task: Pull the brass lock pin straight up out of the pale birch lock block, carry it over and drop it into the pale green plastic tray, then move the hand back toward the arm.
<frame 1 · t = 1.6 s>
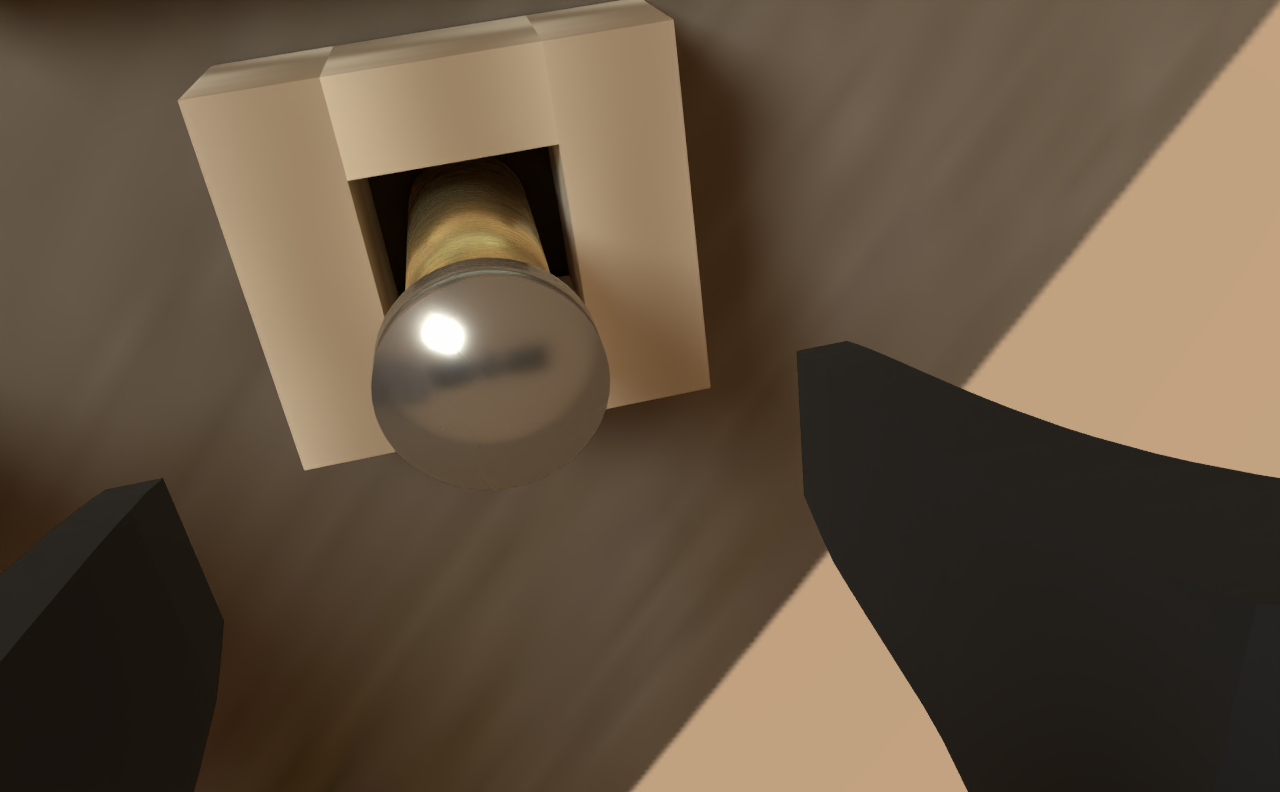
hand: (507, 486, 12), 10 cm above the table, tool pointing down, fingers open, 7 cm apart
lock block: (468, 209, 21), on the table
lock pin: (468, 209, 21), resting in lock block
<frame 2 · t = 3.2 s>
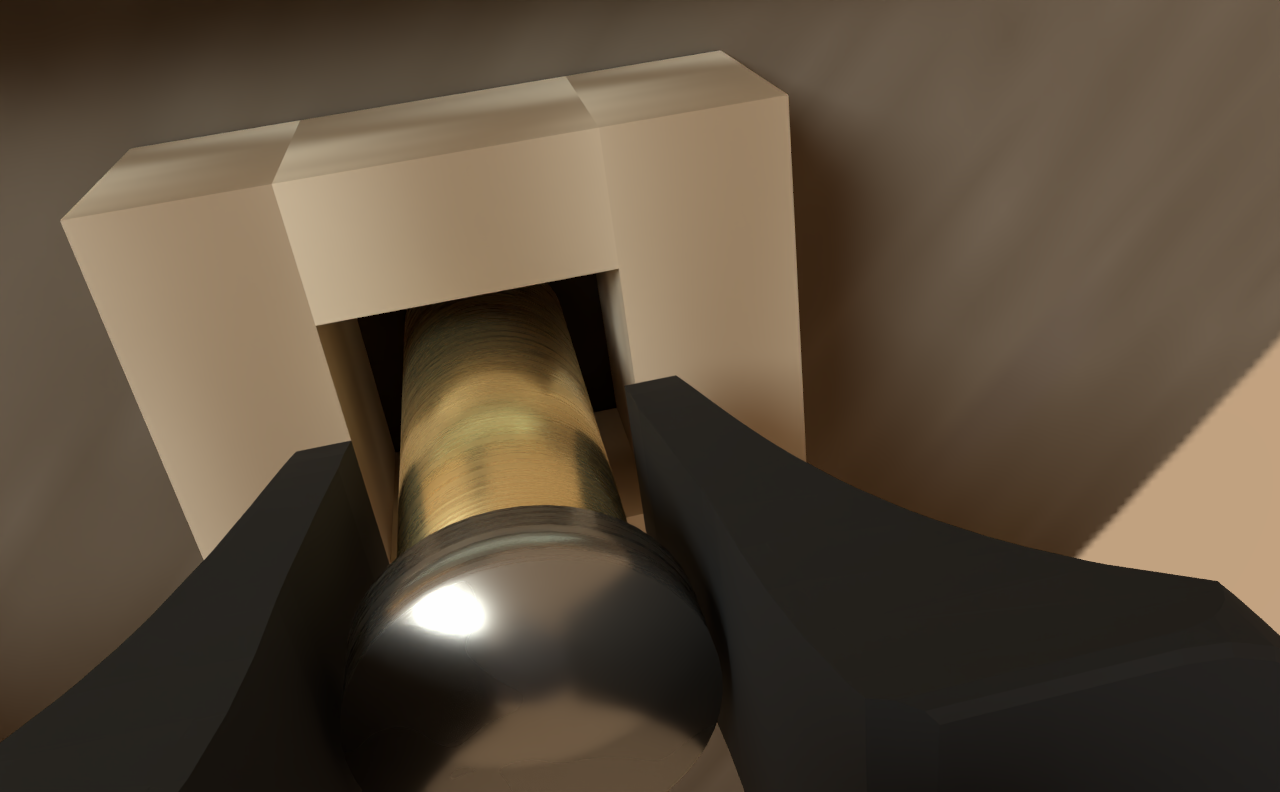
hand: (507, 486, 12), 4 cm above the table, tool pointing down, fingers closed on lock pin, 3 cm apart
lock block: (485, 329, 15), on the table
lock pin: (485, 329, 15), resting in lock block, touching gripper
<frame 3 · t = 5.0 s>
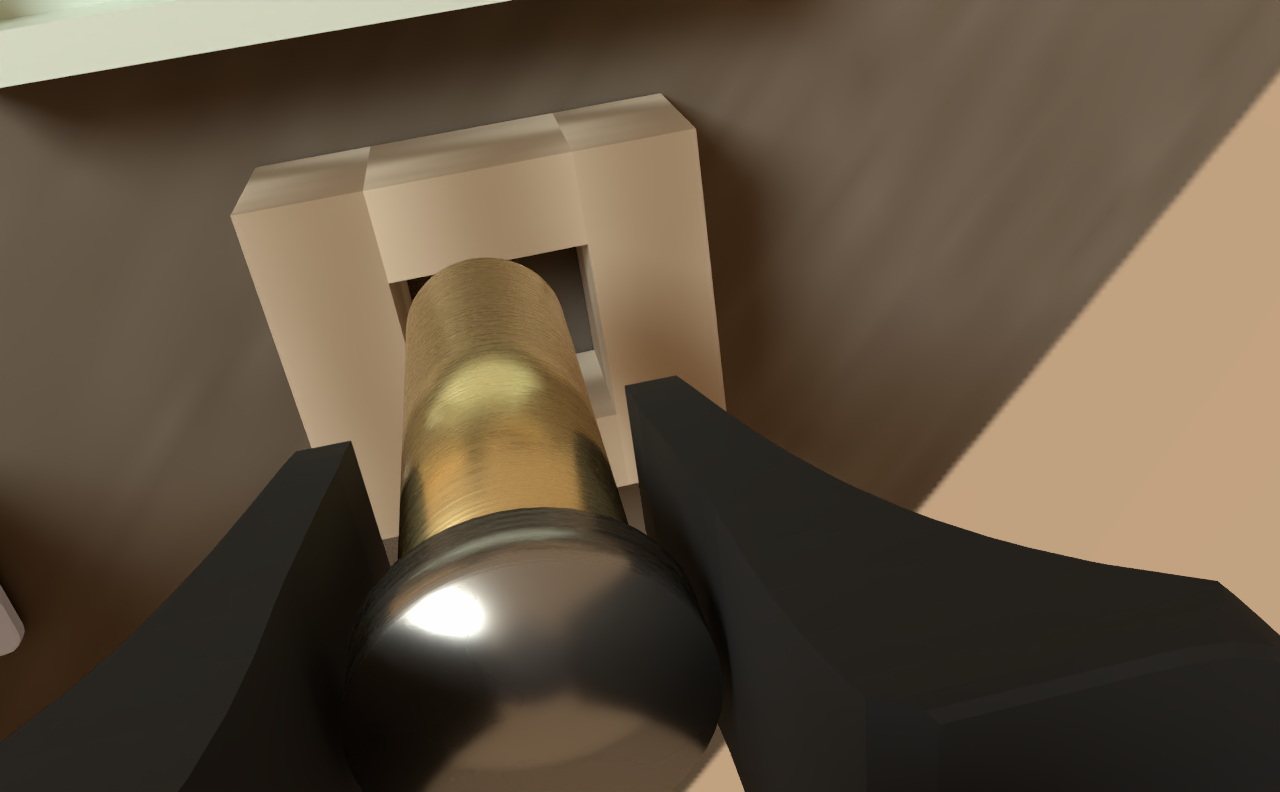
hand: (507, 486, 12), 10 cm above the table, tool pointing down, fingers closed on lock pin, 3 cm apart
lock block: (498, 292, 22), on the table
lock pin: (486, 332, 15), point 6 cm above the table, touching gripper
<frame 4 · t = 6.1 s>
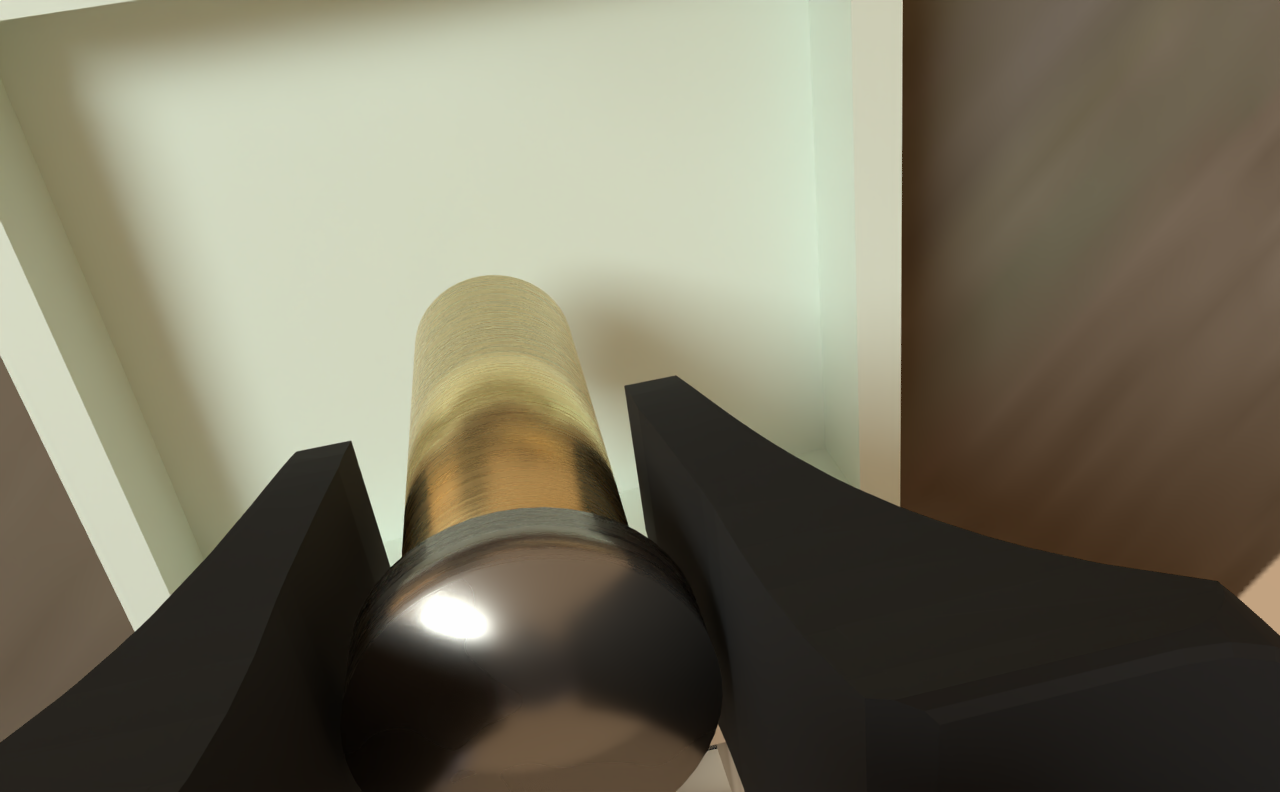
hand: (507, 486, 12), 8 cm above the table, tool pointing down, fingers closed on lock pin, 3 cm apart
tray: (474, 258, 18), on the table
lock block: (638, 713, 24), on the table
lock pin: (494, 349, 16), point 3 cm above the table, touching gripper
when the fingers open (7 cm above the table, at t = 6.8 s): lock pin drops 2 cm, resting on tray.
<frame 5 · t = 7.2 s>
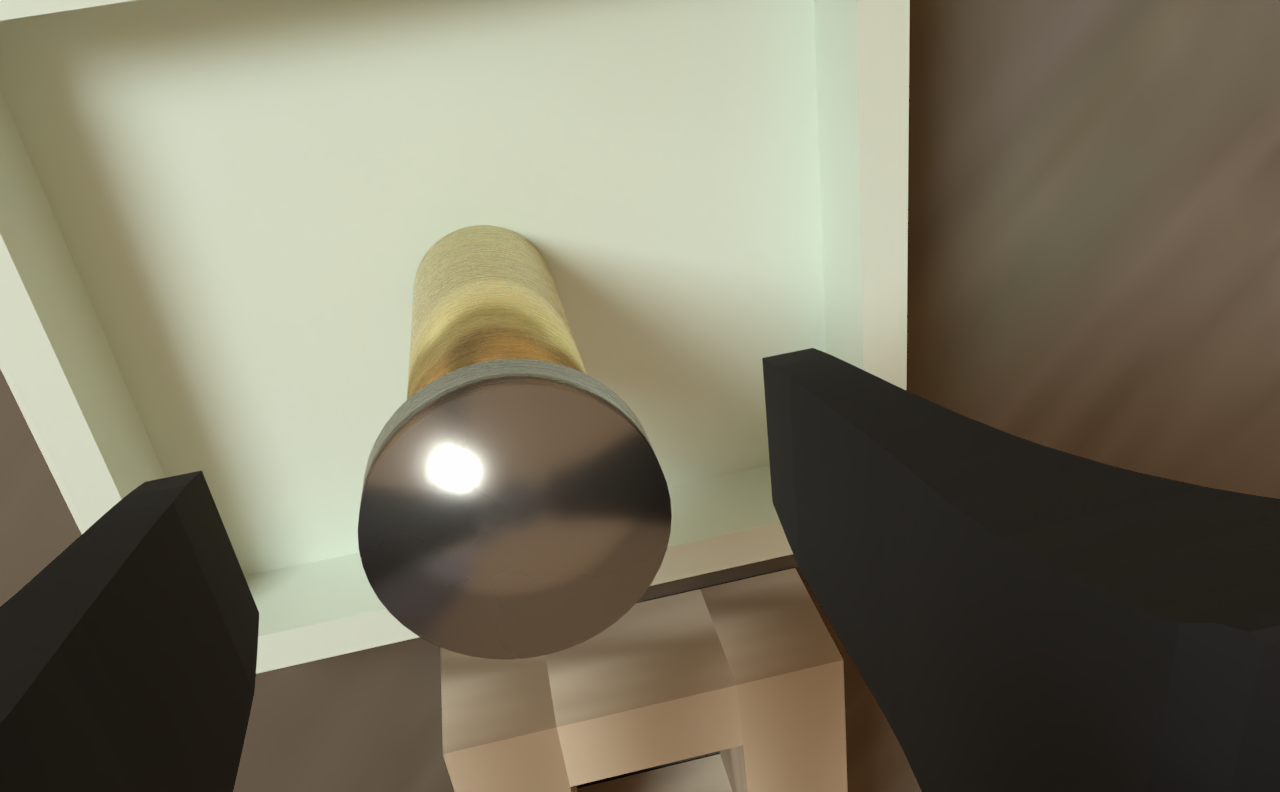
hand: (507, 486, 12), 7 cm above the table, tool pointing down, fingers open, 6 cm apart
tray: (476, 260, 18), on the table
lock block: (640, 719, 24), on the table
lock pin: (484, 293, 18), point 1 cm above the table, touching tray
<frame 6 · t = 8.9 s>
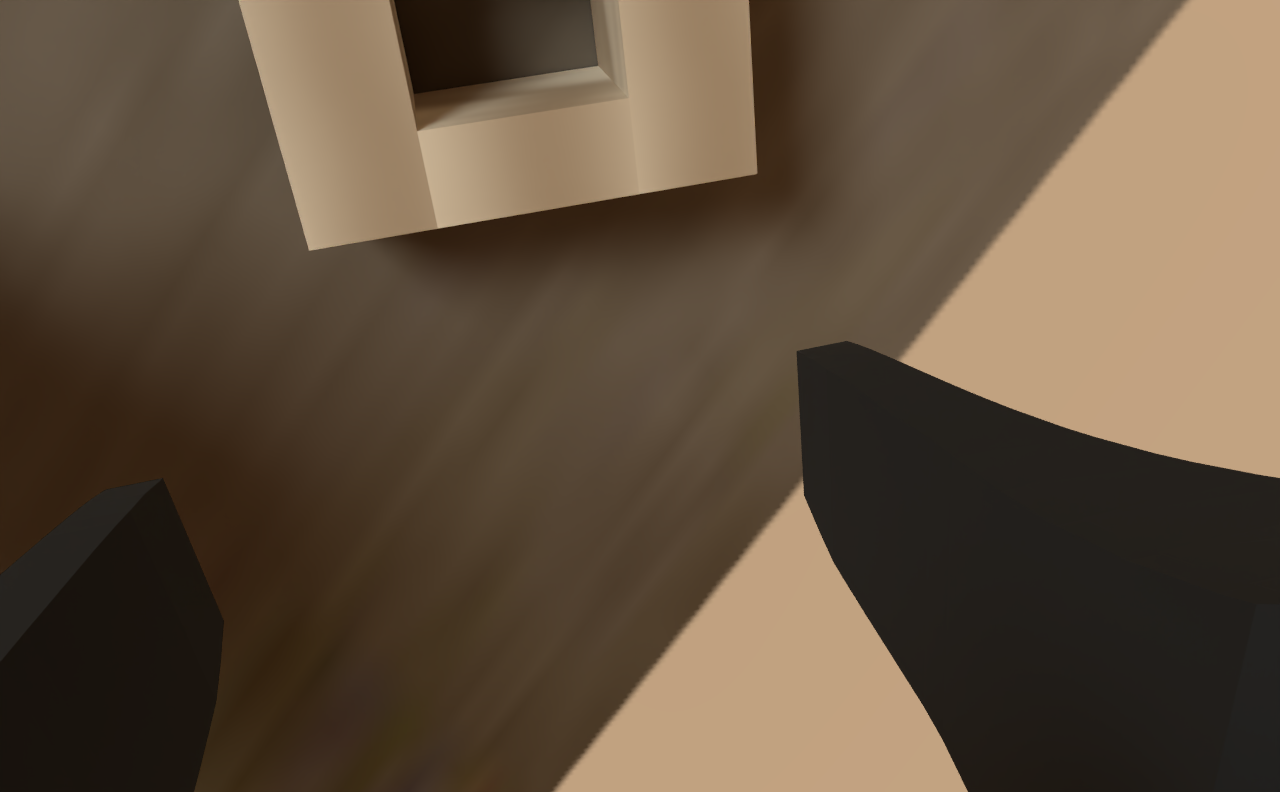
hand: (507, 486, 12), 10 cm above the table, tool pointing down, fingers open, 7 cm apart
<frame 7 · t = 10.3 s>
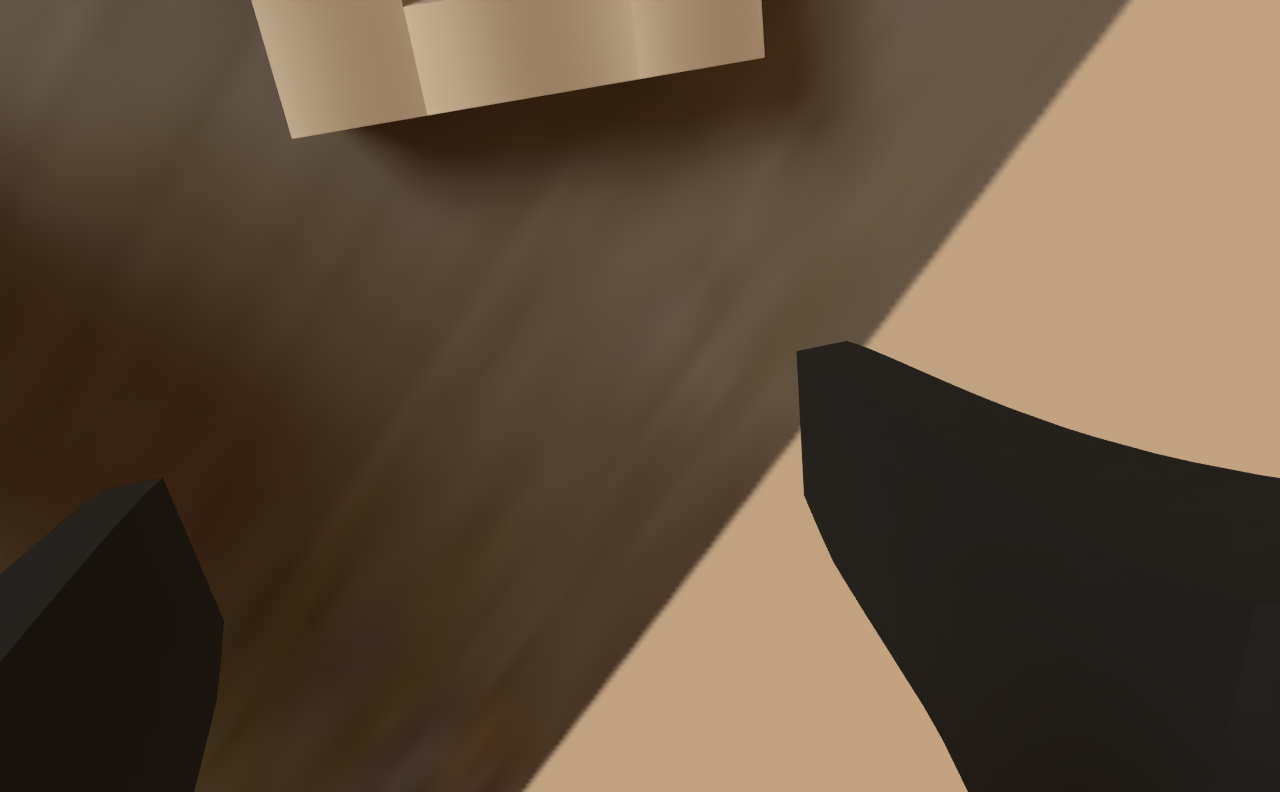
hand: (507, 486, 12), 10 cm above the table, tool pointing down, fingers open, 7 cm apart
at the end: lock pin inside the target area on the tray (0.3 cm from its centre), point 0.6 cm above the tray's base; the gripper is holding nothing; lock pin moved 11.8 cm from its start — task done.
